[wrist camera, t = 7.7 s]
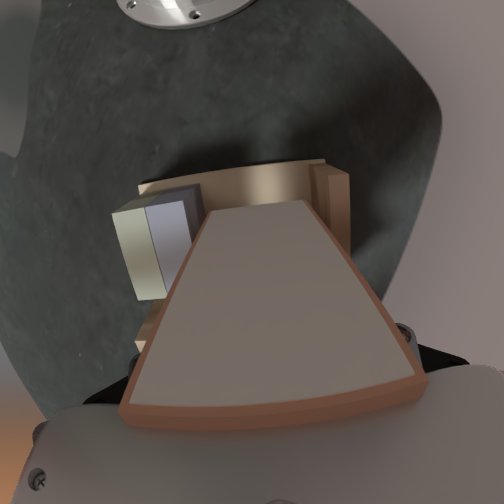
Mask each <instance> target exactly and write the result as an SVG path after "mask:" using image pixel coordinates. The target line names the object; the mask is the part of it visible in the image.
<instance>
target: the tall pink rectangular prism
mask: <svg viewBox="0 0 504 504" xmlns="http://www.w3.org/2000/svg"><path fill="white" fill-rule="evenodd" d="M428 383H429V379H428V377H427V375H426V374H425V372H424V370H423V368H422V367H421V365H420V363H419V362H418V360H417V358H416V357H415V355H414V353H413V352H412V350H411V348H410V347H409V345H408V343H407V342H406V340H405V339H404V337H403V335H402V334H401V332H400V331H399V329H398V327H397V326H396V324H395V323H394V321H393V320H392V318H391V317H390V315H389V314H388V312H387V311H386V309H385V308H384V306H383V304H382V303H381V301H380V300H379V299H378V297H377V296H376V294H375V293H374V291H373V290H372V288H371V287H370V285H369V284H368V282H367V281H366V280H365V278H364V277H363V275H362V274H361V272H360V271H359V270H358V268H357V267H356V265H355V264H354V263H353V261H352V260H351V259H350V257H349V256H348V254H347V253H346V252H345V250H344V249H343V248H342V246H341V245H340V244H339V242H338V241H337V240H336V238H335V237H334V236H333V234H332V233H331V232H330V230H329V229H328V228H327V226H326V225H325V224H324V222H323V221H322V220H321V219H320V217H319V216H318V215H317V213H316V212H315V211H314V210H313V208H312V207H311V206H310V205H309V203H308V202H307V201H306V200H296V201H286V202H277V203H269V204H260V205H252V206H244V207H237V208H229V209H222V210H214V211H209V213H208V215H207V217H206V218H205V220H204V222H203V224H202V226H201V228H200V230H199V232H198V234H197V236H196V238H195V240H194V242H193V243H192V245H191V247H190V249H189V251H188V253H187V255H186V257H185V259H184V261H183V263H182V265H181V267H180V269H179V271H178V273H177V276H176V278H175V280H174V282H173V284H172V286H171V288H170V290H169V292H168V294H167V296H166V298H165V301H164V303H163V305H162V307H161V309H160V311H159V314H158V316H157V318H156V320H155V322H154V324H153V327H152V329H151V331H150V333H149V336H148V338H147V340H146V342H145V345H144V347H143V349H142V352H141V354H140V356H139V359H138V361H137V363H136V366H135V368H134V370H133V373H132V375H131V378H130V380H129V382H128V385H127V387H126V390H125V392H124V395H123V397H122V400H121V402H120V405H119V408H118V410H117V412H118V414H119V415H120V417H121V418H122V419H123V420H124V422H125V423H126V424H127V426H133V427H143V428H155V429H169V430H193V431H225V430H249V429H263V428H275V427H285V426H293V425H301V424H308V423H315V422H322V421H328V420H333V419H338V418H344V417H348V416H353V415H358V414H362V413H366V412H371V411H375V410H379V409H382V408H386V407H390V406H394V405H397V404H401V403H404V402H408V401H411V400H414V399H417V398H420V397H422V396H423V394H424V392H425V390H426V387H427V385H428Z"/></svg>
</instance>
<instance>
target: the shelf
mask: <svg viewBox="0 0 504 504" xmlns="http://www.w3.org/2000/svg"><path fill="white" fill-rule="evenodd" d="M138 187H139V192H140V195H139V196H138V197H136V198H135V199H133V200H132V201H130V202H128V203H127V204H125V205H124V206H122V207H121V208H119V209H118V210H116V211H115V212H114V213H112V217H113V221H114V224H115V228H116V232H117V235H118V239H119V242H120V246H121V249H122V253H123V256H124V259H125V262H126V265H127V269H128V272H129V275H130V278H131V281H132V284H133V287H134V289H135V292H136V295H137V298H138V300H149V299H155V301H154V303H153V305H152V307H151V309H150V311H149V313H148V315H147V317H146V319H145V321H144V323H143V325H142V327H141V329H140V331H139V333H138V335H137V337H136V339H135V342H136V345H137V347H138V349H139V351H140V353H141V352H142V349H143V347H144V345H145V342H146V340H147V338H148V336H149V333H150V331H151V329H152V327H153V324H154V322H155V320H156V318H157V316H158V314H159V311H160V309H161V307H162V305H163V303H164V301H165V298H166V296H167V294H168V292H169V290H170V288H171V286H172V284H173V282H174V280H175V278H176V276H177V273H178V271H179V269H180V267H181V265H182V263H183V261H184V259H185V257H186V255H187V253H188V251H189V249H190V247H191V245H192V243H193V242H194V240H195V238H196V236H197V234H198V232H199V230H200V228H201V226H202V224H203V222H204V220H205V218H206V217H207V215H208V213H209V211H214V210H222V209H229V208H237V207H244V206H252V205H260V204H269V203H277V202H286V201H296V200H306V201H307V202H308V203H309V205H310V206H311V207H312V208H313V210H314V211H315V212H316V213H317V215H318V216H319V217H320V219H321V220H322V221H323V222H324V224H325V225H326V226H327V228H328V229H329V230H330V232H331V233H332V234H333V236H334V237H335V238H336V240H337V241H338V242H339V244H340V245H341V246H342V248H343V249H344V250H345V252H346V253H347V254H348V256H349V257H350V245H351V224H350V186H349V174H348V173H346V172H344V171H341V170H339V169H337V168H335V167H333V166H331V165H328V164H326V163H325V159H313V160H301V161H290V162H280V163H270V164H262V165H253V166H245V167H238V168H231V169H224V170H217V171H210V172H204V173H198V174H192V175H186V176H181V177H175V178H170V179H165V180H160V181H155V182H150V183H145V184H140V185H139V186H138Z"/></svg>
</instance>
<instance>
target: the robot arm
mask: <svg viewBox="0 0 504 504" xmlns="http://www.w3.org/2000/svg"><path fill="white" fill-rule="evenodd" d="M116 1H117V3H118V5H119V7H120V8H121V9H122V10H123V11H124V12H125V13H126V14H127V15H128V16H129V17H131V18H132V19H133V20H135V21H137V22H139V23H141V24H143V25H146V26H150V27H154V28H159V29H169V30H173V29H189V28H194V27H200V26H205V25H208V24H211V23H215V22H218V21H221V20H223V19H225V18H228V17H230V16H232V15H234V14H236V13H238V12H239V11H241V10H243V9H245V8H246V7H248V6H249V5H250V4H251V3H252V2H254V1H255V0H116ZM197 16H199V18H198V19H194V18H195V17H197ZM395 324H396V326H397V327H398V329H399V331H400V332H401V334H402V335H403V337H404V339H405V340H406V342H407V343H408V345H409V347H410V348H411V350H412V352H413V353H414V355H415V357H416V358H417V360H418V362H419V363H420V365H421V367H422V368H423V370H424V372H425V374H426V375H427V377H428V379H429V383H428V385H427V387H426V390H425V392H424V394H423V396H422V397H420V398H417V399H414V400H411V401H408V402H404V403H401V404H397V405H394V406H390V407H386V408H382V409H379V410H375V411H371V412H366V413H362V414H358V415H353V416H348V417H344V418H338V419H333V420H328V421H322V422H315V423H308V424H301V425H293V426H285V427H275V428H263V429H249V430H225V431H193V430H169V429H155V428H143V427H133V426H127V424H126V423H125V422H124V420H123V419H122V418H121V417H120V415H119V414H118V412H117V410H118V408H119V405H120V402H121V400H122V397H123V395H124V392H125V390H126V387H127V385H128V382H129V380H130V378H131V375H132V373H133V370H134V368H135V366H136V363H137V361H138V359H139V356H140V354H141V353H139V354H137V355H136V356H135V357H133V359H132V360H131V361H130V364H129V371H128V376H127V377H125V378H123V379H121V380H119V381H118V382H116V383H114V384H112V385H111V386H109V387H107V388H105V389H103V390H102V391H100V392H98V393H96V394H94V395H92V396H91V397H89V398H88V399H86V400H85V402H84V403H83V404H82V405H77V406H72V407H68V408H65V409H63V410H60V411H58V412H57V413H55V414H54V415H53V416H52V417H51V418H50V419H49V420H47V421H45V422H42V423H40V424H39V425H37V426H36V427H35V429H34V431H33V434H32V439H33V447H32V449H31V452H30V454H29V456H28V458H27V460H26V462H25V465H24V467H23V470H22V472H21V475H20V478H19V480H18V483H17V486H16V489H15V492H14V495H13V497H12V501H11V504H504V371H499V370H497V369H496V368H494V367H491V366H486V365H470V364H469V362H467V361H466V360H465V359H463V358H460V357H458V356H455V355H451V354H448V353H445V352H441V351H438V350H435V349H432V348H429V347H426V346H423V345H420V344H417V341H416V336H415V334H414V332H413V330H412V329H411V328H410V327H408V326H406V325H404V324H400V323H395Z"/></svg>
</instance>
